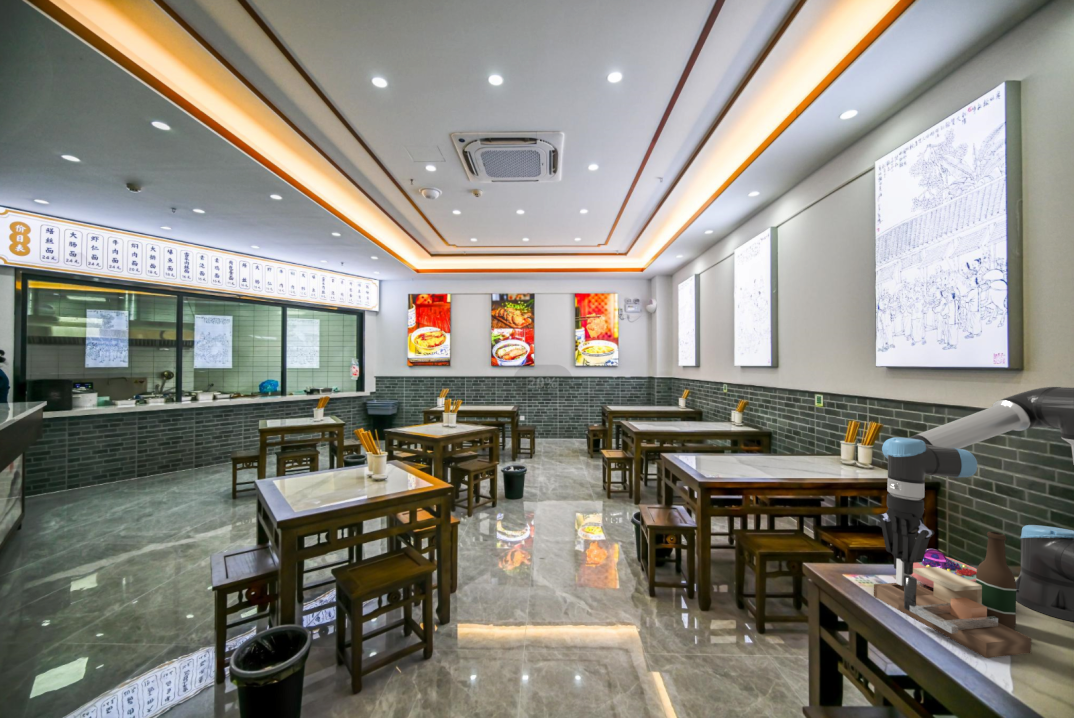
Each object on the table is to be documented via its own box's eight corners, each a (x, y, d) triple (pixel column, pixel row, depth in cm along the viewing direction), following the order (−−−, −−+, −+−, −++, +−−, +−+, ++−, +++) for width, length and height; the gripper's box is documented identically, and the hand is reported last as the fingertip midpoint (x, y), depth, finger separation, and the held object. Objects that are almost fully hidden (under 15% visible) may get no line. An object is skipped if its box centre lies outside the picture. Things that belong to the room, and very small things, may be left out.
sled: (949, 603, 114) (950, 572, 114) (1002, 628, 103) (1003, 594, 103) (901, 606, 110) (902, 575, 111) (950, 633, 99) (951, 598, 100)
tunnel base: (911, 593, 125) (911, 581, 126) (1030, 653, 99) (1031, 638, 100) (873, 596, 123) (873, 584, 123) (986, 658, 97) (986, 642, 97)
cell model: (926, 601, 121) (927, 562, 122) (891, 570, 140) (892, 537, 141) (1001, 614, 116) (1001, 573, 116) (953, 580, 135) (954, 545, 136)
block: (965, 612, 110) (965, 597, 110) (986, 623, 105) (986, 607, 105) (950, 614, 109) (950, 598, 109) (971, 624, 104) (971, 608, 104)
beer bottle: (1005, 619, 114) (1007, 531, 114) (1024, 635, 106) (1026, 541, 107) (967, 611, 117) (969, 525, 117) (983, 626, 110) (985, 535, 110)
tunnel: (937, 595, 118) (938, 567, 118) (981, 616, 108) (981, 585, 108) (912, 597, 116) (912, 568, 116) (954, 618, 106) (954, 587, 107)
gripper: (870, 488, 118) (867, 572, 117) (920, 504, 105) (917, 598, 104) (891, 488, 119) (889, 571, 119) (943, 503, 106) (941, 596, 106)
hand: (902, 584), depth 111 cm, fingers closed
